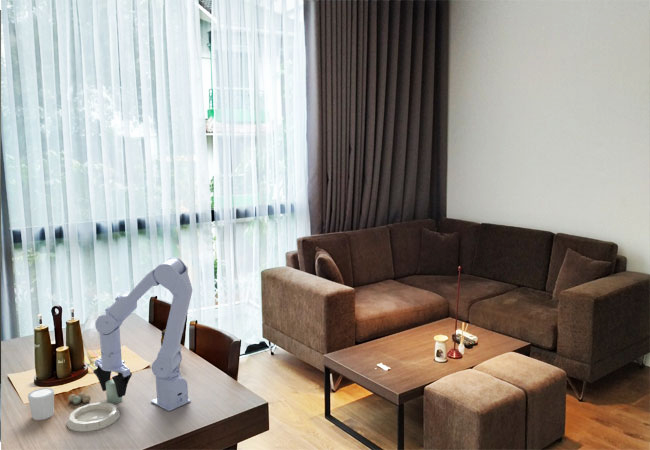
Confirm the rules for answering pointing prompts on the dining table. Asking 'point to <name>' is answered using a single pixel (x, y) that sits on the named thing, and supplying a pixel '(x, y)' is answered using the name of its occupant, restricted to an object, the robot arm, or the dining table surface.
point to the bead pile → (79, 398)
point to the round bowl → (93, 417)
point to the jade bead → (112, 393)
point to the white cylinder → (41, 403)
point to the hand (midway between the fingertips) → (113, 393)
